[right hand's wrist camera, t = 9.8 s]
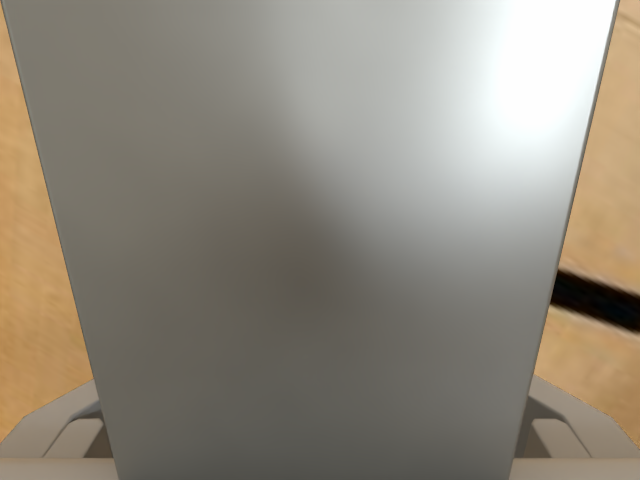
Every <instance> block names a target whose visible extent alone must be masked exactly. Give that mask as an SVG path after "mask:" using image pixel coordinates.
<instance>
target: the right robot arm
mask: <svg viewBox="0 0 640 480" xmlns="http://www.w3.org/2000/svg"><path fill="white" fill-rule="evenodd" d="M0 480H119V478H118V474H117V470H116V466H115V462H114V458H113V454H112V450H111V446H110V442H109V438H108V434H107V430H106V426H105V422H104V418H103V414H102V410H101V406H100V401H99V397H98V393H97V389H96V385H95V381H94V379H92V380H90V381H89V382H87V383H85V384H83V385H81V386H79V387H78V388H76V389H74V390H72V391H70V392H68V393H67V394H65V395H63V396H61V397H59V398H57V399H56V400H54V401H52V402H50V403H48V404H46V405H45V406H43V407H41V408H39V409H37V410H35V411H34V412H32V413H30V414H28V415H26V416H24V417H23V418H22V419H21V421H20V422H19V423H18V424H17V425H16V426H15V427H14V429H13V430H12V431H11V432H10V433H9V434H8V435H7V436H6V438H5V439H4V440H3V441H2V442H1V443H0ZM509 480H640V450H639V448H638V447H637V446H636V445H635V444H634V443H633V441H632V440H631V439H630V438H629V437H628V436H627V434H626V433H625V432H624V431H623V430H622V429H621V427H620V426H619V425H618V424H617V423H616V422H615V420H614V419H613V418H612V417H610V416H608V415H607V414H605V413H603V412H601V411H599V410H597V409H596V408H594V407H592V406H590V405H588V404H587V403H585V402H583V401H581V400H579V399H578V398H576V397H574V396H572V395H570V394H569V393H567V392H565V391H563V390H561V389H559V388H558V387H556V386H554V385H552V384H550V383H549V382H547V381H545V380H543V379H541V378H540V377H538V376H536V375H534V374H533V377H532V382H531V386H530V390H529V395H528V399H527V403H526V407H525V412H524V416H523V420H522V425H521V429H520V433H519V438H518V442H517V446H516V451H515V455H514V459H513V463H512V468H511V472H510V476H509Z"/></svg>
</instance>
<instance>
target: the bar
mask: <svg viewBox="0 0 640 480" xmlns="http://www.w3.org/2000/svg"><path fill="white" fill-rule="evenodd" d="M619 2H620V0H1V4H2V9H3V13H4V17H5V21H6V25H7V29H8V33H9V37H10V41H11V45H12V49H13V53H14V57H15V61H16V65H17V69H18V73H19V77H20V81H21V86H22V90H23V94H24V98H25V102H26V106H27V110H28V114H29V118H30V122H31V126H32V130H33V134H34V138H35V142H36V146H37V150H38V154H39V158H40V162H41V167H42V171H43V175H44V179H45V183H46V187H47V191H48V195H49V199H50V203H51V207H52V211H53V215H54V219H55V223H56V227H57V231H58V235H59V239H60V244H61V248H62V252H63V256H64V260H65V264H66V268H67V272H68V276H69V280H70V284H71V288H72V292H73V296H74V300H75V304H76V308H77V312H78V316H79V320H80V325H81V329H82V333H83V337H84V341H85V345H86V349H87V353H88V357H89V361H90V365H91V369H92V373H93V377H94V381H95V385H96V389H97V393H98V397H99V401H100V406H101V410H102V414H103V418H104V422H105V426H106V430H107V434H108V438H109V442H110V446H111V450H112V454H113V458H114V462H115V466H116V470H117V474H118V478H119V480H509V476H510V472H511V468H512V463H513V459H514V455H515V451H516V446H517V442H518V438H519V433H520V429H521V425H522V420H523V416H524V412H525V407H526V403H527V399H528V395H529V390H530V386H531V382H532V377H533V373H534V369H535V364H536V360H537V356H538V351H539V347H540V343H541V338H542V334H543V330H544V326H545V321H546V317H547V313H548V308H549V304H550V300H551V295H552V291H553V287H554V282H555V278H556V274H557V270H558V265H559V261H560V257H561V252H562V248H563V244H564V239H565V235H566V231H567V226H568V222H569V218H570V214H571V209H572V205H573V201H574V196H575V192H576V188H577V183H578V179H579V175H580V170H581V166H582V162H583V158H584V153H585V149H586V145H587V140H588V136H589V132H590V127H591V123H592V119H593V114H594V110H595V106H596V102H597V97H598V93H599V89H600V84H601V80H602V76H603V71H604V67H605V63H606V58H607V54H608V50H609V46H610V41H611V37H612V33H613V28H614V24H615V20H616V15H617V11H618V7H619Z"/></svg>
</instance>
